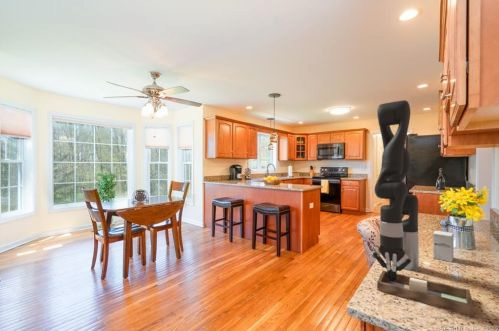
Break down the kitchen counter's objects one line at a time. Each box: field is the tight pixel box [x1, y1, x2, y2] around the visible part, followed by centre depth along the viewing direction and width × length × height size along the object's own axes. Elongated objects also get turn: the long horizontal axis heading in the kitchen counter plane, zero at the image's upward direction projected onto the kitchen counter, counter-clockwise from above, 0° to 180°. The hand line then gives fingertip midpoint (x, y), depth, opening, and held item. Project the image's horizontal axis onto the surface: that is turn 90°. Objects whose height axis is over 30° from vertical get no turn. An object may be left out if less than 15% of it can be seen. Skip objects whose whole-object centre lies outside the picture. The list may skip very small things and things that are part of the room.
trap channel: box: [376, 270, 475, 317], centre depth 85 cm, size 26×12×4 cm, turn 52°
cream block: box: [409, 277, 427, 293], centre depth 85 cm, size 5×5×4 cm
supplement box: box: [432, 230, 454, 263], centre depth 119 cm, size 7×7×13 cm
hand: (391, 280), depth 90 cm, fingers closed
